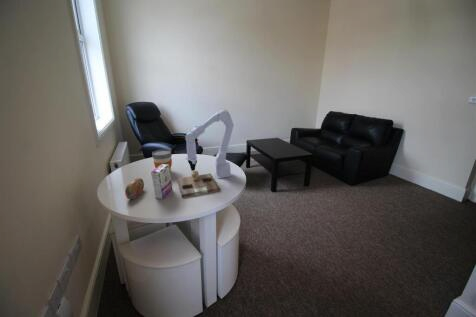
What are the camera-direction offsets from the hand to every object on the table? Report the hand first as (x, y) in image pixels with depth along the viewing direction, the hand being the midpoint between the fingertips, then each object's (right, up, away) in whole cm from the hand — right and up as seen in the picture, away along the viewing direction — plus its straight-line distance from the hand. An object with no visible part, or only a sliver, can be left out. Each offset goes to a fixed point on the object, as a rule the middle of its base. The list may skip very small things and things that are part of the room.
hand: (193, 170), depth 145 cm
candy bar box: (-12, -13, -20) cm, 27 cm away
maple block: (+3, -5, -5) cm, 8 cm away
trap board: (+5, -9, -11) cm, 15 cm away
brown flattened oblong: (-28, -13, -20) cm, 37 cm away
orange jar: (-22, -2, +9) cm, 24 cm away
